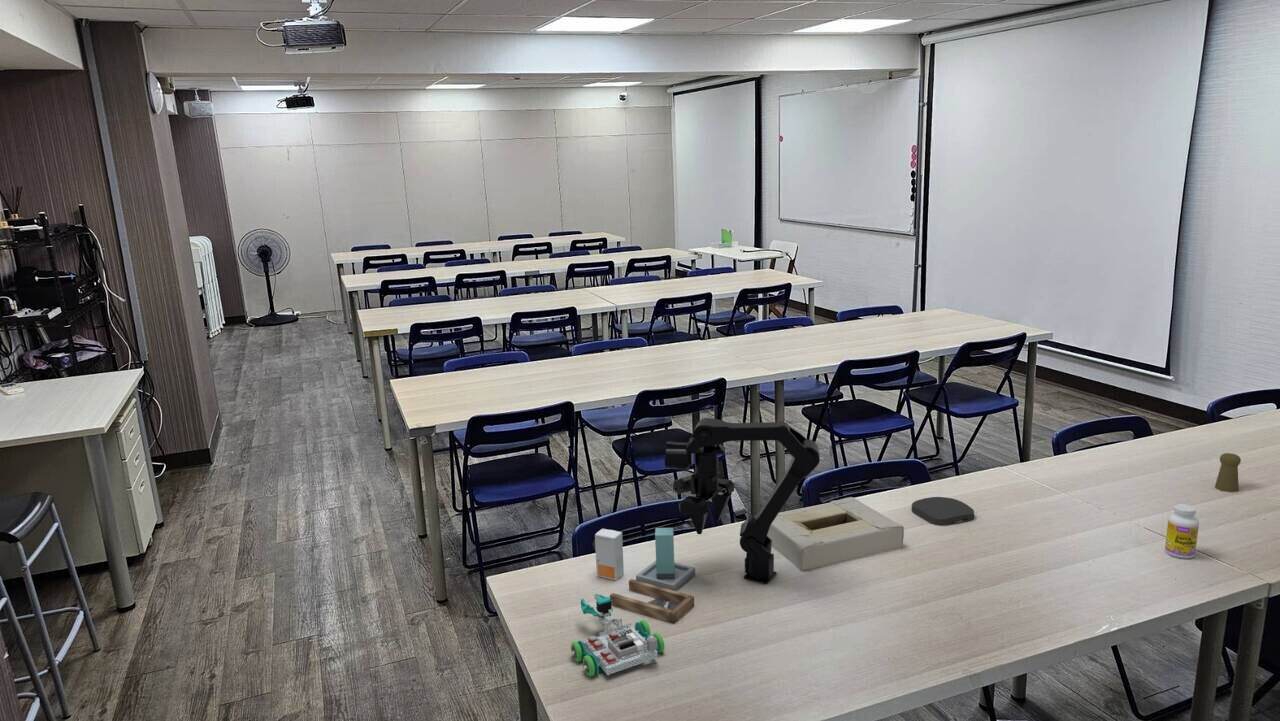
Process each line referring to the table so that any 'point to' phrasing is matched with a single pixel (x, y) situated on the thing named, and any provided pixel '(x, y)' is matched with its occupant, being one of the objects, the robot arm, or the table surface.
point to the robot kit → (615, 642)
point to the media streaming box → (942, 510)
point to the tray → (681, 577)
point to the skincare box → (609, 554)
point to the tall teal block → (664, 553)
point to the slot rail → (653, 610)
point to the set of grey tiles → (663, 603)
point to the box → (833, 533)
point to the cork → (1228, 473)
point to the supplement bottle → (1182, 532)
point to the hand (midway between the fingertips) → (708, 527)
